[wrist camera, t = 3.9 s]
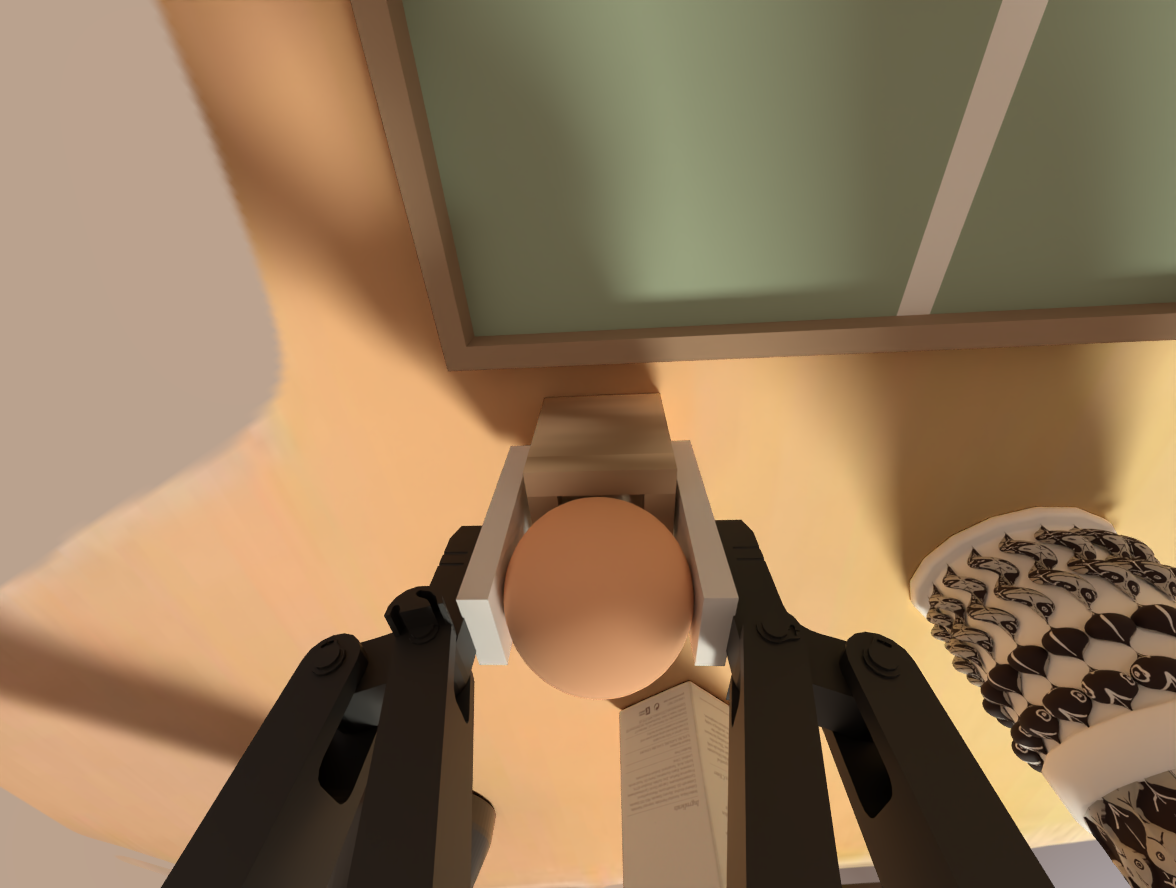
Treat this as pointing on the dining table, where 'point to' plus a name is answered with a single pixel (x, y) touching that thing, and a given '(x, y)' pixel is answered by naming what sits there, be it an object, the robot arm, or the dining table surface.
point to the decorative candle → (1071, 666)
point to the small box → (675, 790)
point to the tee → (602, 454)
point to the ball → (598, 598)
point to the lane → (780, 174)
